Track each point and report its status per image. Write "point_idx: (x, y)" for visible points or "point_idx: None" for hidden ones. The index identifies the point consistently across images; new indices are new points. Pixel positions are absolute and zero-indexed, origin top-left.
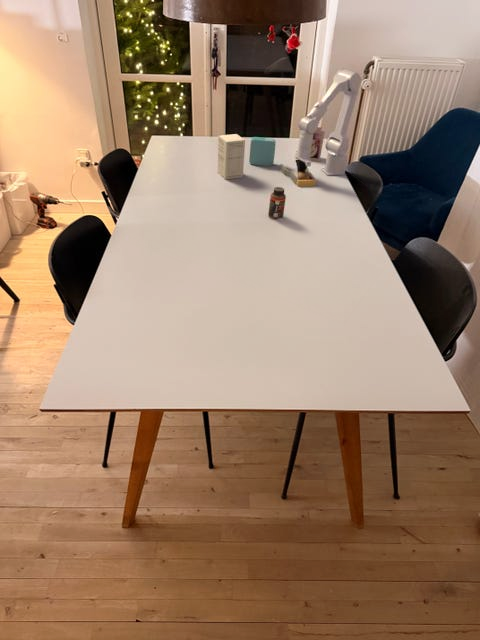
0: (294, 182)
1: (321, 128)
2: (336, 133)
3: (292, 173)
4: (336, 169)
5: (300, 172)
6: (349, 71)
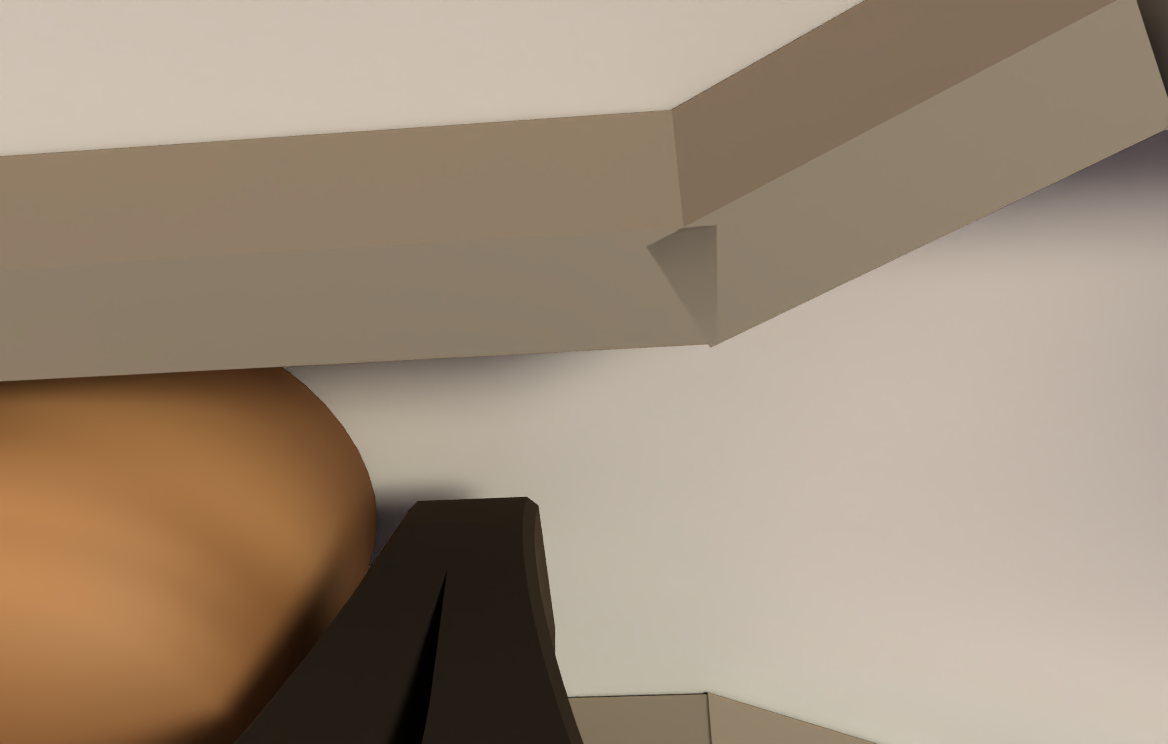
0: None
1: None
2: None
3: (441, 304)
4: None
5: (103, 704)
6: None
